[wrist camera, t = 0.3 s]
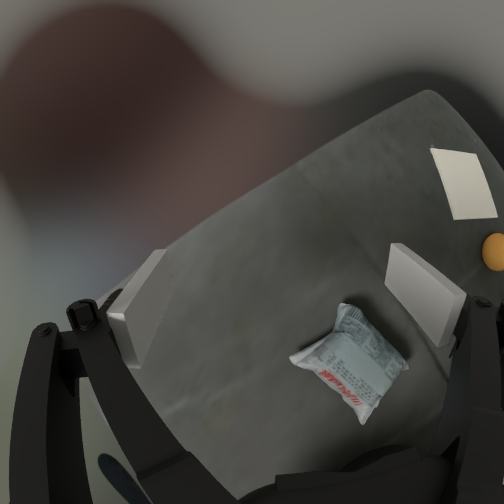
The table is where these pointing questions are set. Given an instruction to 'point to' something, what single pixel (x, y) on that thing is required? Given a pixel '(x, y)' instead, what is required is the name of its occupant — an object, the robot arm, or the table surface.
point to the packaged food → (354, 361)
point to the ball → (494, 252)
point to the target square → (464, 185)
